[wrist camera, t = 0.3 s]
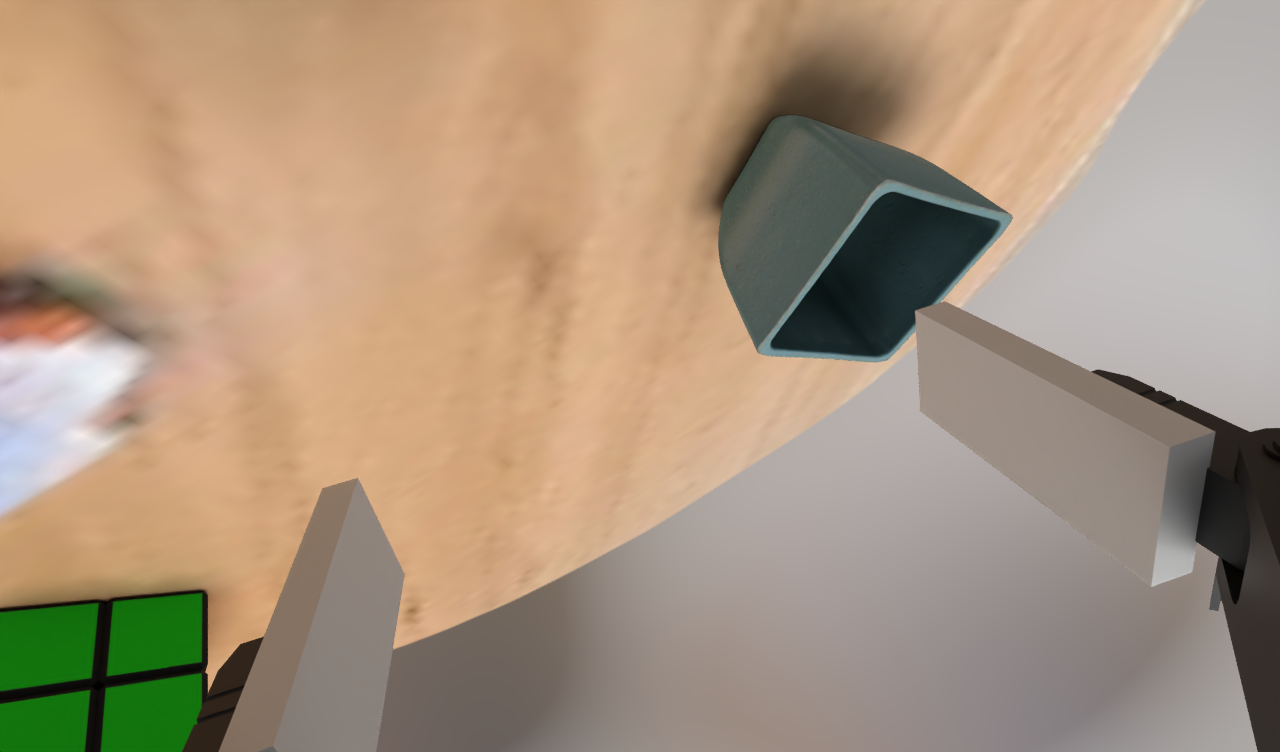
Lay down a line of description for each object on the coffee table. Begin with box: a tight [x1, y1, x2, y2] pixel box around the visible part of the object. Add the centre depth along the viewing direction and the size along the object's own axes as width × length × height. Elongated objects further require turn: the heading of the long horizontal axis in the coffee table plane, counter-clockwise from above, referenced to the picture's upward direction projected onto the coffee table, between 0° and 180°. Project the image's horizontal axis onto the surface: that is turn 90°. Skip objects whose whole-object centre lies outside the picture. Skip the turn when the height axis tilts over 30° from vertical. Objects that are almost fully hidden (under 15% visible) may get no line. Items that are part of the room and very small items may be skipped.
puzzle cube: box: [0, 591, 208, 752], centre depth 39 cm, size 10×10×10 cm
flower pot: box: [718, 115, 1013, 362], centre depth 31 cm, size 9×9×9 cm
